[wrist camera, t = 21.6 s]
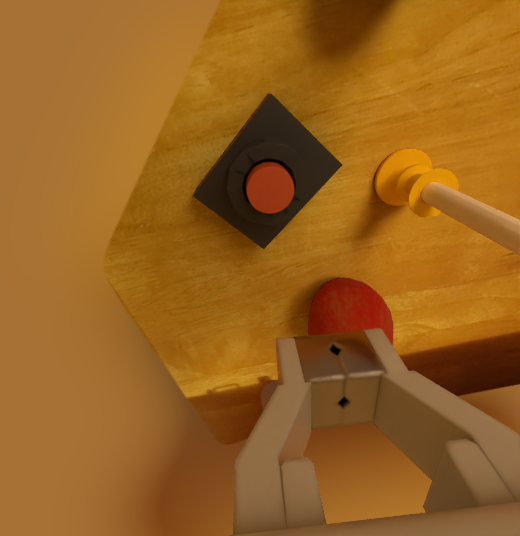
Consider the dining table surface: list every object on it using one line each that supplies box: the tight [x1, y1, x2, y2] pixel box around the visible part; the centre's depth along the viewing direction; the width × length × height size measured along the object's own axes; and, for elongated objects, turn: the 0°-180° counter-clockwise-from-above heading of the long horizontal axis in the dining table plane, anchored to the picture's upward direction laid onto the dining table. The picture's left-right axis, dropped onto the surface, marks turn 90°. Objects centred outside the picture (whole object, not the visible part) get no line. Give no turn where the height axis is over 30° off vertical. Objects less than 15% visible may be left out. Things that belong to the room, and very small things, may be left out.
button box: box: [193, 94, 342, 249], centre depth 26 cm, size 10×8×4 cm
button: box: [246, 162, 294, 214], centre depth 24 cm, size 4×4×2 cm
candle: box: [375, 148, 520, 255], centre depth 22 cm, size 5×5×16 cm
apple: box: [308, 278, 393, 345], centre depth 31 cm, size 8×8×11 cm
